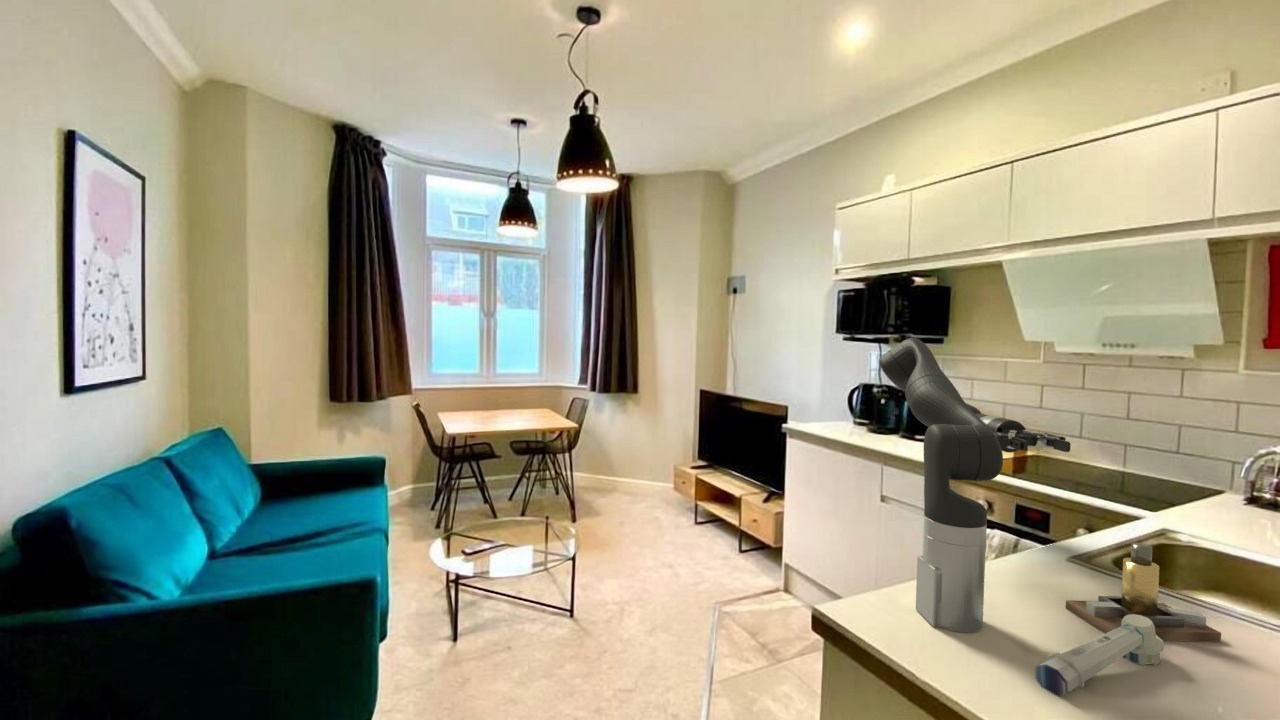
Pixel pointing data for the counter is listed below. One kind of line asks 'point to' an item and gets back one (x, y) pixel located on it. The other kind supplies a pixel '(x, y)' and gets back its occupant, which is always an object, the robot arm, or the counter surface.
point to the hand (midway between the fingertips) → (1047, 446)
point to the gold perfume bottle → (1140, 581)
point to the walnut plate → (1162, 632)
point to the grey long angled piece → (1101, 655)
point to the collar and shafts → (1164, 618)
